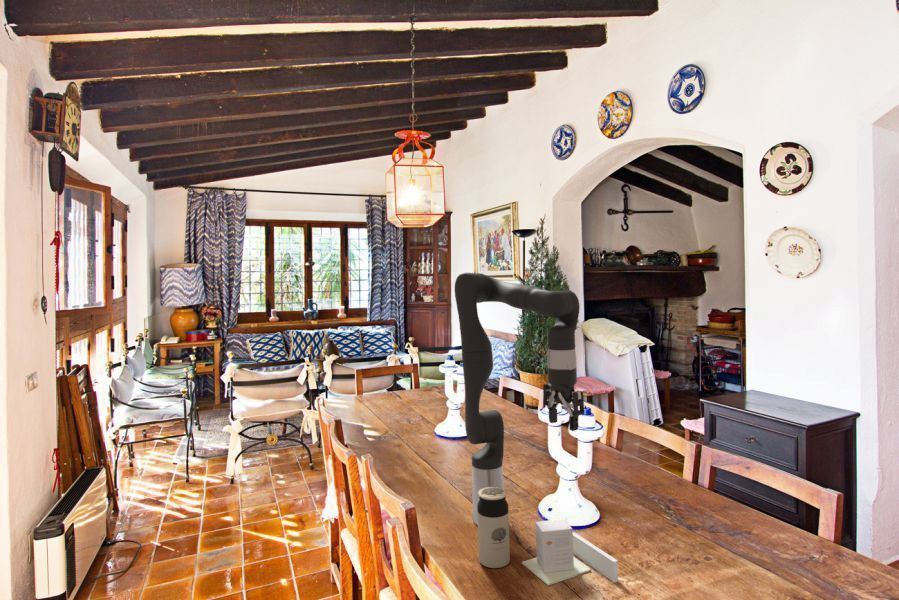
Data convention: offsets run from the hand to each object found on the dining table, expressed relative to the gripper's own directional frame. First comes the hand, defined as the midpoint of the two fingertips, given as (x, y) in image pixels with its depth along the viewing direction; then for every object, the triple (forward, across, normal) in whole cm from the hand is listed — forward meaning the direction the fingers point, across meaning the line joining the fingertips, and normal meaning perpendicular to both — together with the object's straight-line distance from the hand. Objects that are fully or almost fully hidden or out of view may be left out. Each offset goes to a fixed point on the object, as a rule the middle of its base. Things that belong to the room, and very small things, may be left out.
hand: (563, 426), depth 137 cm
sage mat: (+33, +6, -8) cm, 35 cm away
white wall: (+33, +8, 0) cm, 34 cm away
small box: (+33, +6, -8) cm, 34 cm away
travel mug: (+33, -4, -20) cm, 39 cm away
